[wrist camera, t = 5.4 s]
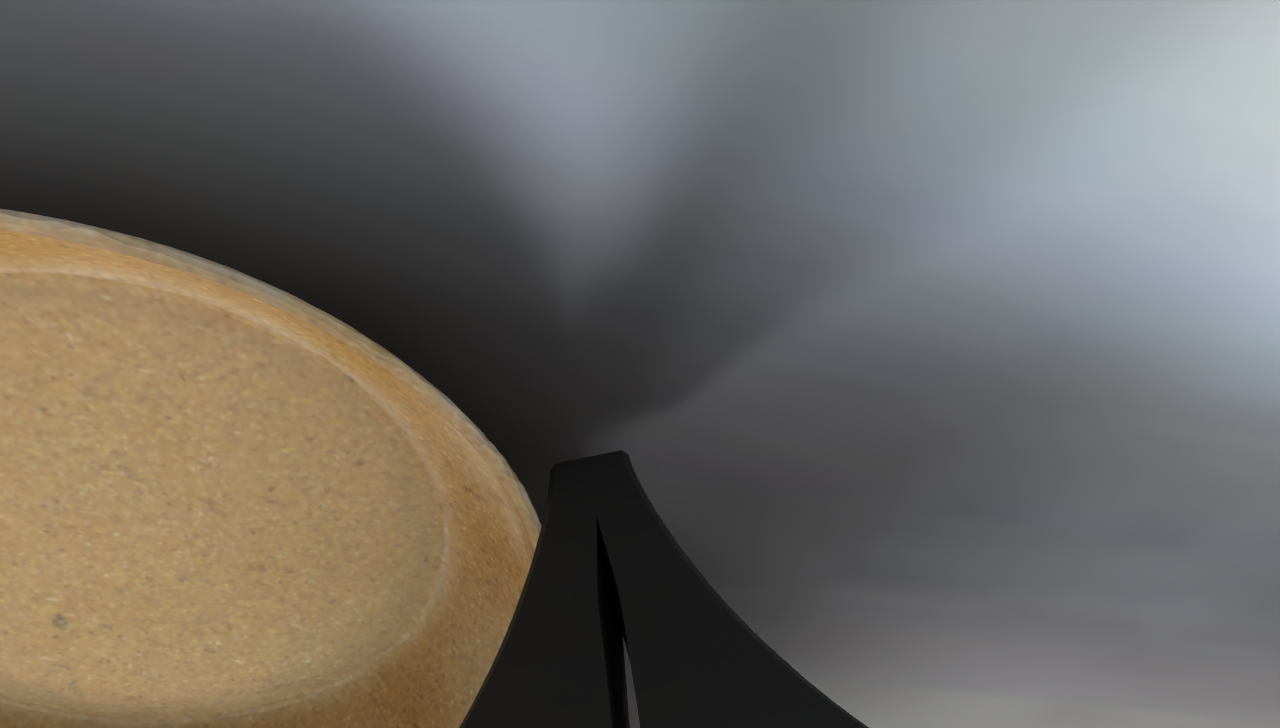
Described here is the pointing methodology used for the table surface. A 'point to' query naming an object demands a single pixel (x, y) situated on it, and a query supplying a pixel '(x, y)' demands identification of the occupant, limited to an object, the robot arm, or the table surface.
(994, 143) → the table surface
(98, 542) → the plant saucer
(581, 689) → the robot arm
